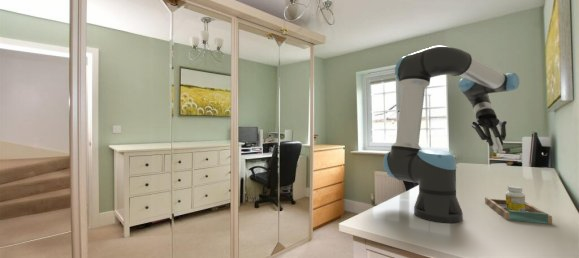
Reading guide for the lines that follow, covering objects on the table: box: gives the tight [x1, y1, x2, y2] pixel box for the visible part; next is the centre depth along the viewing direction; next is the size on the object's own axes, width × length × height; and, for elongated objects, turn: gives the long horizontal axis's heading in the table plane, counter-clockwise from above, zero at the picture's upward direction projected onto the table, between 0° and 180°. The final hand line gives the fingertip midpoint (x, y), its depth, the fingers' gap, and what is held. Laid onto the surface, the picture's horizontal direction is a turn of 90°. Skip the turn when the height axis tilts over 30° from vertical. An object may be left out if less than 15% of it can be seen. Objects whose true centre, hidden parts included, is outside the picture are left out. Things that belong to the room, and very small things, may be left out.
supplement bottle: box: [505, 185, 526, 212], centre depth 95 cm, size 5×5×10 cm
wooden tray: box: [484, 196, 553, 225], centre depth 96 cm, size 22×12×3 cm, turn 158°
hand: (498, 150), depth 107 cm, fingers closed
